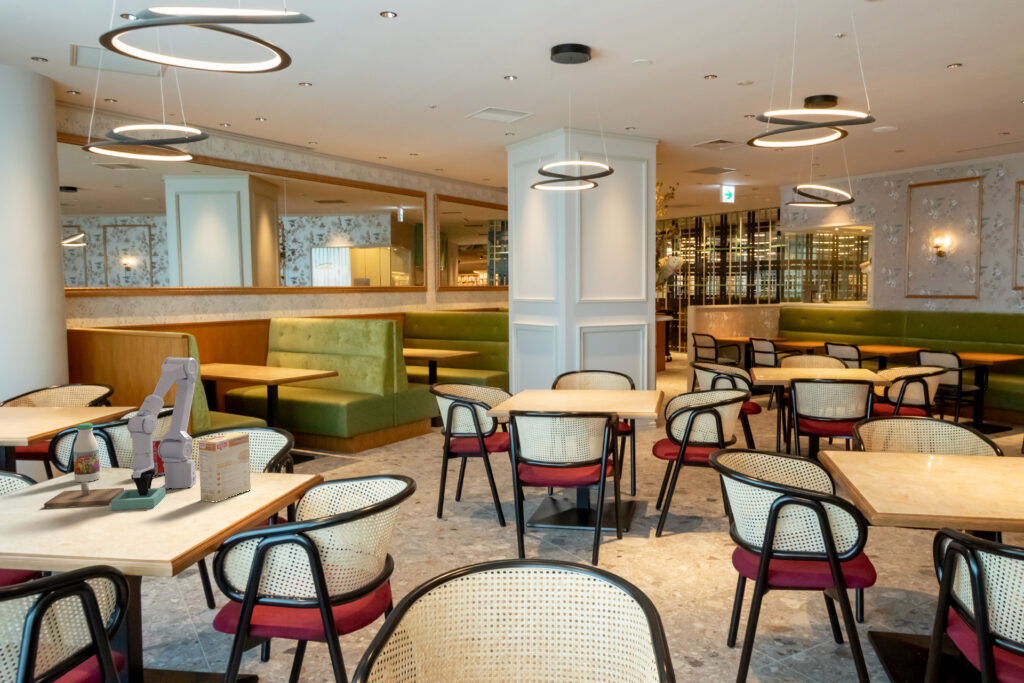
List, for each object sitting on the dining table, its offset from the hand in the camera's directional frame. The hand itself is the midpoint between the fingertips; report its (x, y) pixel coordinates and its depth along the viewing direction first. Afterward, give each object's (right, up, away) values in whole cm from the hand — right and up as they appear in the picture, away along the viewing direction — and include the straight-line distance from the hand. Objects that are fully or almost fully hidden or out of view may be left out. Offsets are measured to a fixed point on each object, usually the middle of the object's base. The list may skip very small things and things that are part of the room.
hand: (144, 494), depth 225 cm
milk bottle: (-32, 0, +22) cm, 39 cm away
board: (-18, -2, -2) cm, 18 cm away
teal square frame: (+1, -2, -5) cm, 5 cm away
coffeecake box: (+25, -1, +4) cm, 25 cm away
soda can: (-10, +1, +30) cm, 32 cm away
